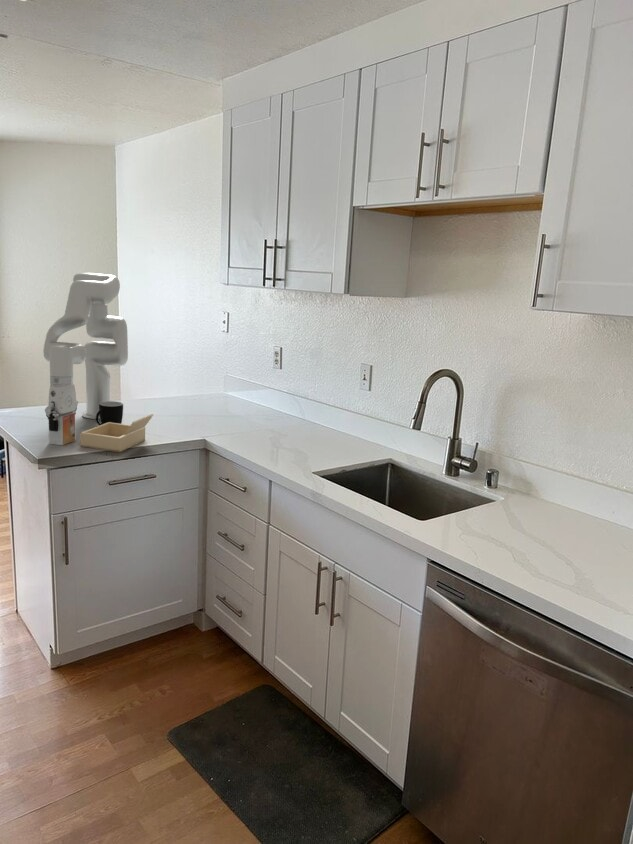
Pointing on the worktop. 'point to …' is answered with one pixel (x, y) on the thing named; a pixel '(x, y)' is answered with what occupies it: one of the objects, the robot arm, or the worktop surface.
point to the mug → (110, 412)
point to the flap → (138, 424)
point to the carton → (111, 437)
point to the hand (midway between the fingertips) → (62, 428)
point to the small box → (63, 429)
